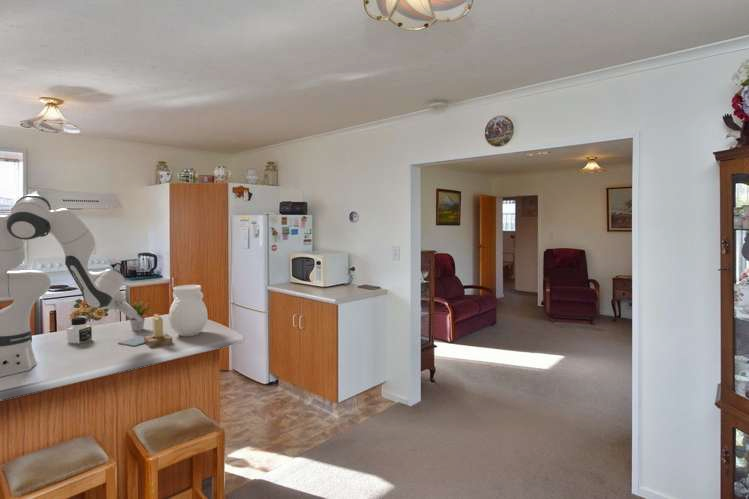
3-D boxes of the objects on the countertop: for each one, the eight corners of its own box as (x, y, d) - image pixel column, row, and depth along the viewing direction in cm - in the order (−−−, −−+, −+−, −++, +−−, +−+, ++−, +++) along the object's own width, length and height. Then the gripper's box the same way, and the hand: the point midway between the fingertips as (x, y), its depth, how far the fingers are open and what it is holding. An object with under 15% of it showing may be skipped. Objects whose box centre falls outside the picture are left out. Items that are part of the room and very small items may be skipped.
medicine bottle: (79, 344, 204) (78, 319, 203) (67, 343, 206) (66, 318, 205) (92, 339, 211) (91, 315, 210) (80, 338, 213) (79, 315, 212)
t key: (156, 345, 202) (155, 317, 201) (152, 341, 208) (151, 314, 207) (164, 344, 205) (163, 316, 204) (160, 340, 211) (159, 313, 210)
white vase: (160, 337, 217) (159, 288, 215) (186, 328, 234) (185, 283, 232) (191, 340, 211) (190, 290, 209) (215, 331, 229) (214, 284, 227)
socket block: (149, 347, 200) (149, 341, 199) (144, 342, 207) (144, 336, 207) (172, 343, 206) (172, 337, 206) (166, 339, 214) (166, 333, 213)
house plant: (129, 335, 219) (128, 304, 218) (115, 331, 226) (114, 301, 225) (156, 329, 231) (155, 299, 230) (141, 325, 239) (140, 296, 237)
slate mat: (134, 346, 201) (134, 345, 201) (118, 343, 205) (118, 342, 205) (154, 340, 211) (154, 339, 211) (138, 337, 215) (138, 336, 215)
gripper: (123, 297, 186) (149, 316, 193) (116, 291, 202) (140, 309, 209) (112, 309, 183) (138, 328, 190) (105, 301, 199) (130, 319, 206)
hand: (139, 318), depth 200 cm, fingers open, 8 cm apart
